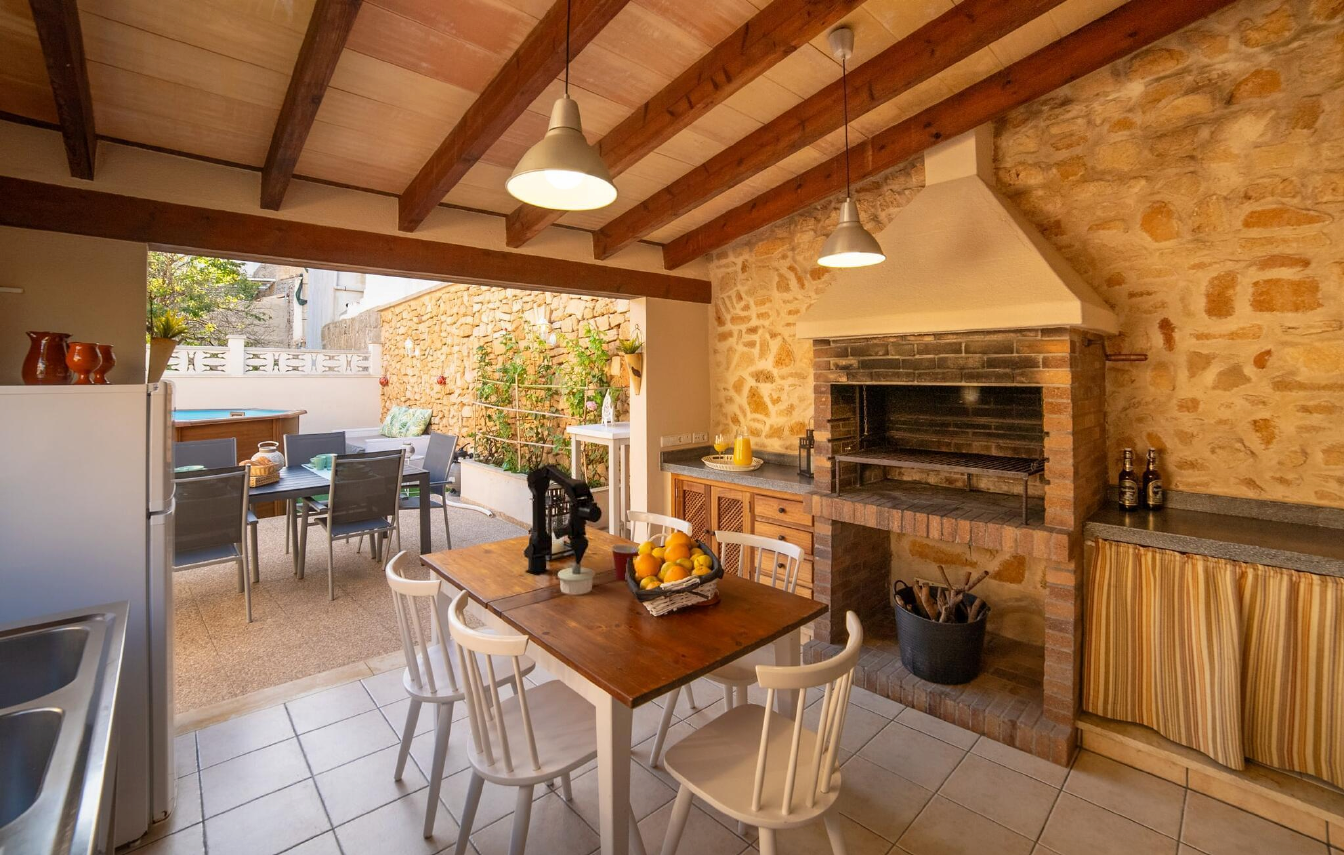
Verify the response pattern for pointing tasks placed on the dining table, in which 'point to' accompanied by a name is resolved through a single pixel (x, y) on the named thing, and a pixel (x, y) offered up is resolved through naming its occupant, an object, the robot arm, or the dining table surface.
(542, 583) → the dining table surface
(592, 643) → the dining table surface
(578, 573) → the lid
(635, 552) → the plastic cup
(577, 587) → the bowl
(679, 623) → the dining table surface
